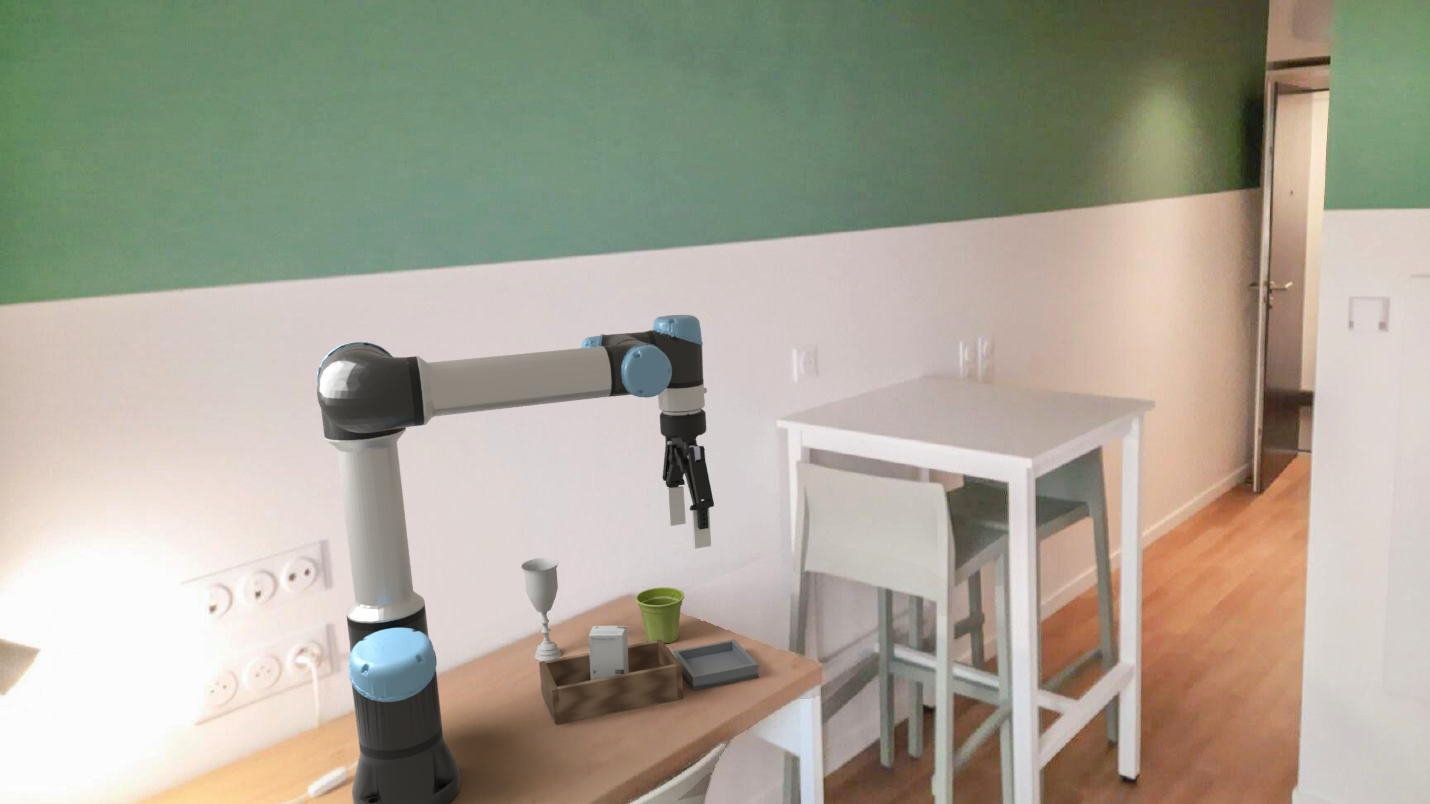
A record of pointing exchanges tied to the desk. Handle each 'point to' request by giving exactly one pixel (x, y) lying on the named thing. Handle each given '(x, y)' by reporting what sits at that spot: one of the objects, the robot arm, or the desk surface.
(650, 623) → the plant pot
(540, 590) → the chalice
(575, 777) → the desk surface
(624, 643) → the skincare box
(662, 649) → the walnut box
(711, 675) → the charcoal tray
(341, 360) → the robot arm
